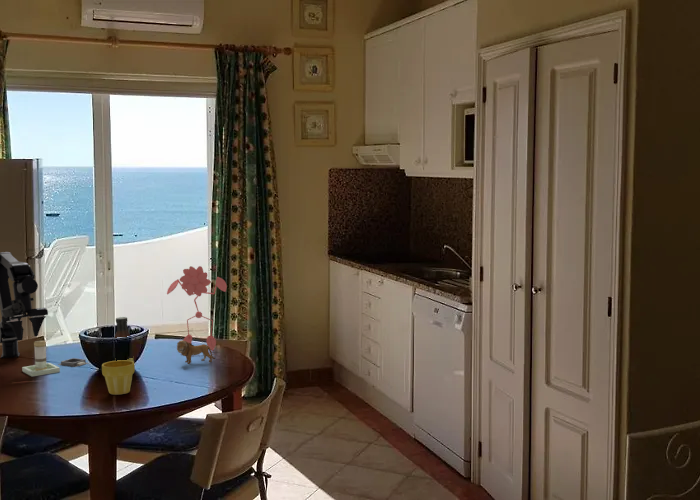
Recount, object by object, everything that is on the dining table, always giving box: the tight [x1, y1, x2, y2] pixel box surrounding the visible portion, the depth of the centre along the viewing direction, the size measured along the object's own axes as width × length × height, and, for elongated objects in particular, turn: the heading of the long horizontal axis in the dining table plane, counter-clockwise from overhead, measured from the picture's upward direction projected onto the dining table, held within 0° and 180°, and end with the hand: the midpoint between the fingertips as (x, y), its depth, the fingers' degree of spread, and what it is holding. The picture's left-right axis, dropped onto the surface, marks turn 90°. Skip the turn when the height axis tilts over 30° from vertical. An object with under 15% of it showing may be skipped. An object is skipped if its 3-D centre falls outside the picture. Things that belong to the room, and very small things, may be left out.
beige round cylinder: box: [33, 340, 47, 371], centre depth 293 cm, size 4×4×11 cm
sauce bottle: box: [113, 316, 135, 363], centre depth 294 cm, size 7×6×20 cm
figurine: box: [166, 265, 228, 356], centre depth 324 cm, size 15×26×35 cm, turn 80°
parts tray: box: [21, 362, 61, 377], centre depth 293 cm, size 10×10×2 cm
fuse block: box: [57, 357, 89, 368], centre depth 305 cm, size 9×7×2 cm
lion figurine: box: [176, 339, 216, 365], centre depth 308 cm, size 15×5×9 cm, turn 114°
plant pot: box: [101, 360, 136, 396], centre depth 267 cm, size 10×10×10 cm
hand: (27, 337), depth 302 cm, fingers open, 9 cm apart
